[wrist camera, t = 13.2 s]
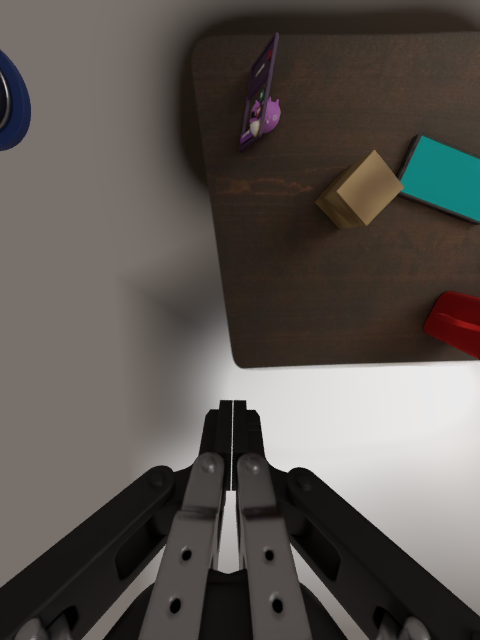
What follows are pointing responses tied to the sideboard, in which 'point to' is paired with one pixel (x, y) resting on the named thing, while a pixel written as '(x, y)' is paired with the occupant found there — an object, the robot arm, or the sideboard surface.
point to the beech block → (360, 192)
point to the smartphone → (442, 178)
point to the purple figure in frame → (261, 97)
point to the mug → (456, 322)
